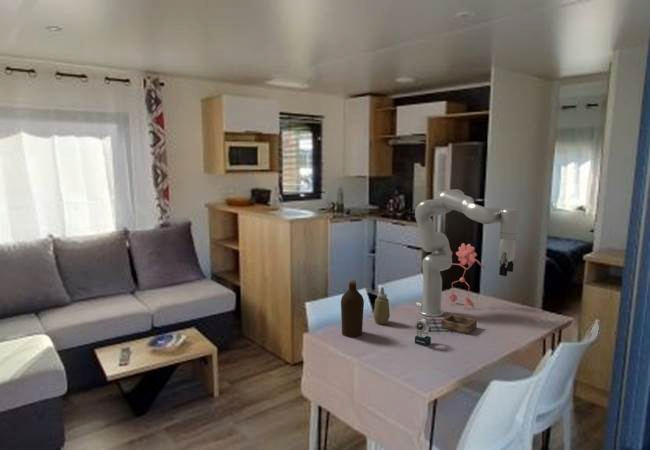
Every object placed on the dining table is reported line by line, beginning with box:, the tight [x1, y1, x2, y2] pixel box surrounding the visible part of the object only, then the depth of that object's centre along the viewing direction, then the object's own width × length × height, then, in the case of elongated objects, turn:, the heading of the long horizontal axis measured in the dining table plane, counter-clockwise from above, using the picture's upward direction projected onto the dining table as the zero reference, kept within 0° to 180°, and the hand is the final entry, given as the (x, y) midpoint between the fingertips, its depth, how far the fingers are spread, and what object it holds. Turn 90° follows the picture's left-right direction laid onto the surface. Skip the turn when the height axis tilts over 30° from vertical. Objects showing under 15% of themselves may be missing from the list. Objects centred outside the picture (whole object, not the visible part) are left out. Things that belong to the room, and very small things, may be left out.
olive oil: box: [340, 280, 365, 338], centre depth 208 cm, size 11×11×25 cm
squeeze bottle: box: [373, 286, 391, 325], centre depth 222 cm, size 8×8×18 cm
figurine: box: [449, 242, 486, 310], centre depth 250 cm, size 15×26×35 cm, turn 38°
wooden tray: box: [441, 314, 478, 336], centre depth 216 cm, size 13×11×4 cm
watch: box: [414, 318, 432, 348], centre depth 197 cm, size 6×8×11 cm
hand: (506, 273), depth 204 cm, fingers open, 9 cm apart
